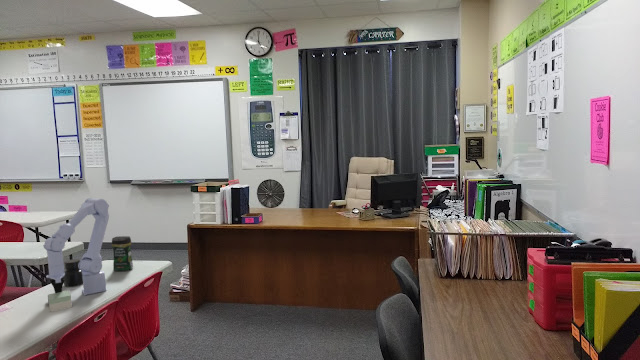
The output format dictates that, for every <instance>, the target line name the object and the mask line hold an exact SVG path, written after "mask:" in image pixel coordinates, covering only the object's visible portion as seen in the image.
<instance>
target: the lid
mask: <svg viewBox="0 0 640 360" xmlns="http://www.w3.org/2000/svg"><path fill="white" fill-rule="evenodd" d="M48 298H49V302H48V305H49V304H53V303H58V302H63V301H68V300H71V301H72V294H71V292H70V290H64V291H63V290H62V292H58V293H55V292H54V293H49V294H47V299H48Z"/></svg>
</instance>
